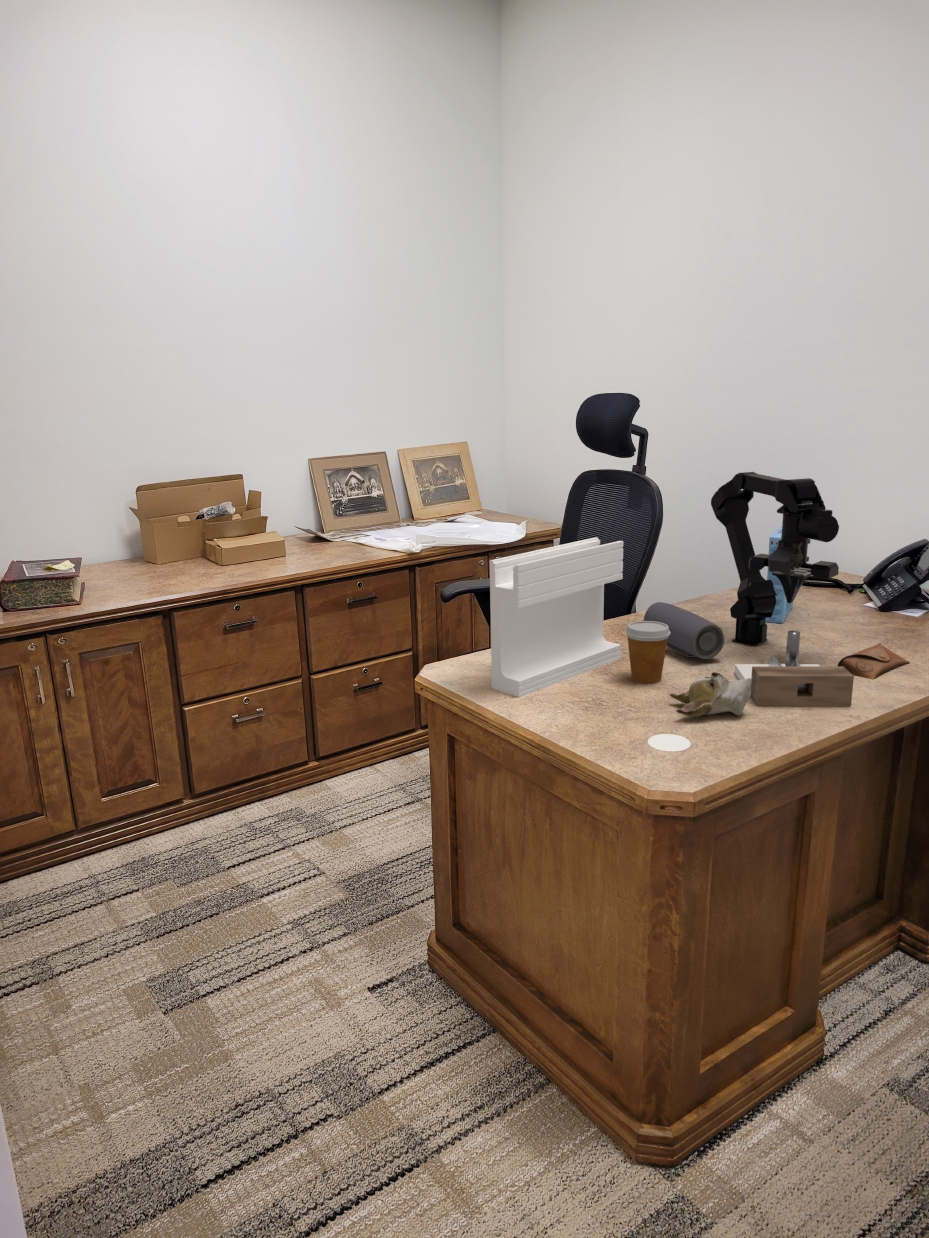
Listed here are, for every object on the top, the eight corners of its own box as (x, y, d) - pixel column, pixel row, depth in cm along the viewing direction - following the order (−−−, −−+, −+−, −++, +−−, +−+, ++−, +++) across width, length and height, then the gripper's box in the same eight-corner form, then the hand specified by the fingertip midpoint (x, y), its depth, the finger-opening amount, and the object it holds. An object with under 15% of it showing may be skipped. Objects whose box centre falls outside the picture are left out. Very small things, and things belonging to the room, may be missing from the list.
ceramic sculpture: (757, 679, 162) (676, 683, 164) (758, 723, 164) (677, 726, 166) (745, 662, 172) (668, 666, 174) (745, 703, 175) (669, 707, 176)
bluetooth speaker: (640, 640, 219) (641, 601, 216) (673, 636, 221) (674, 598, 219) (690, 666, 198) (692, 624, 195) (725, 661, 201) (727, 620, 198)
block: (593, 652, 210) (595, 537, 203) (620, 659, 205) (623, 541, 197) (491, 688, 187) (489, 560, 180) (519, 697, 181) (518, 565, 174)
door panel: (734, 672, 193) (735, 652, 192) (817, 672, 191) (819, 652, 190) (746, 689, 182) (747, 668, 181) (834, 689, 181) (836, 667, 180)
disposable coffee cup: (670, 673, 193) (673, 621, 190) (665, 688, 185) (668, 633, 181) (627, 670, 196) (629, 619, 193) (620, 684, 188) (622, 630, 184)
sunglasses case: (874, 680, 186) (861, 651, 187) (845, 689, 191) (833, 661, 192) (912, 662, 197) (899, 634, 198) (884, 671, 202) (871, 644, 203)
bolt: (782, 676, 183) (786, 630, 180) (794, 676, 182) (798, 630, 180) (794, 689, 175) (798, 641, 172) (806, 689, 175) (810, 641, 172)
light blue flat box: (782, 624, 230) (789, 538, 224) (762, 622, 232) (768, 537, 226) (793, 607, 246) (799, 526, 240) (774, 605, 249) (780, 525, 243)
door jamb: (750, 695, 179) (752, 666, 177) (840, 695, 178) (843, 666, 176) (757, 706, 173) (759, 676, 171) (850, 706, 172) (853, 676, 170)
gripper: (739, 536, 196) (735, 603, 200) (821, 544, 184) (815, 616, 188) (761, 529, 204) (757, 594, 208) (842, 537, 191) (836, 606, 195)
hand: (789, 602), depth 200 cm, fingers closed
